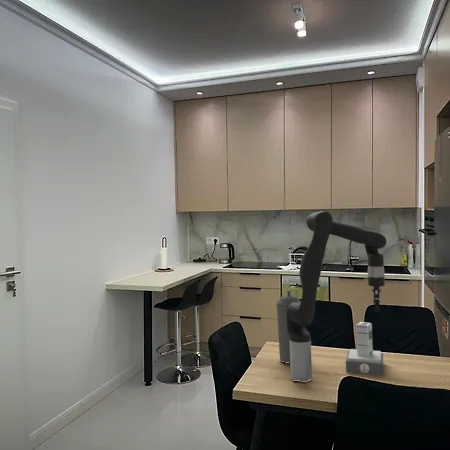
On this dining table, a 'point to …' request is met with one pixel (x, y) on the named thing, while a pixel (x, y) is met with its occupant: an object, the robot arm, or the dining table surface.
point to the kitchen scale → (365, 363)
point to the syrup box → (364, 339)
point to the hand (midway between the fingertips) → (377, 309)
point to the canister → (284, 325)
